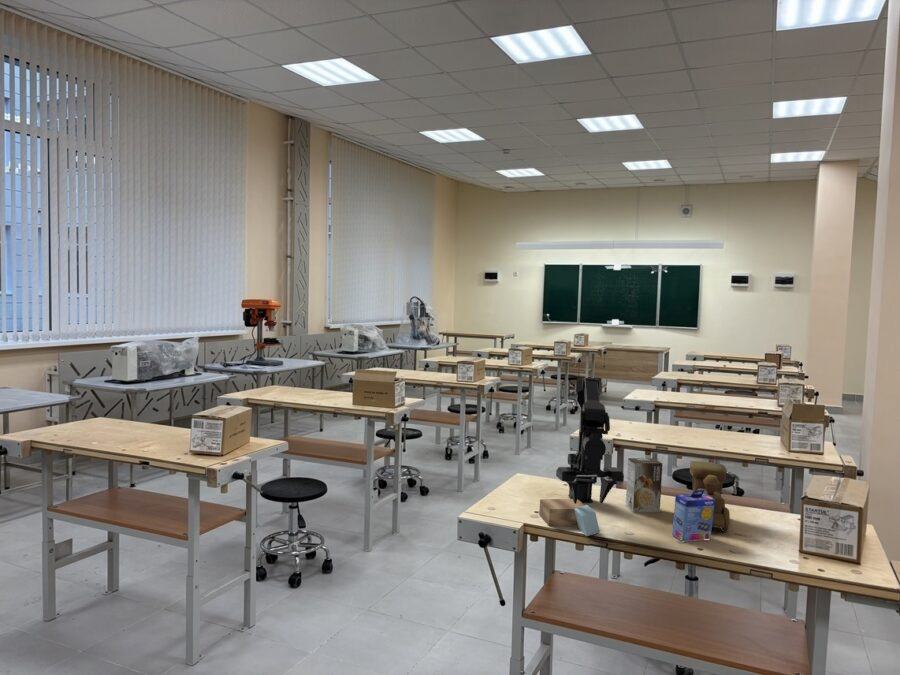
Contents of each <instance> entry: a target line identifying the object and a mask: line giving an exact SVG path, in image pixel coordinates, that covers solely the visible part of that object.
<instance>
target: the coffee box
mask: <svg viewBox="0 0 900 675" xmlns="http://www.w3.org/2000/svg"><path fill="white" fill-rule="evenodd" d="M663 465H664V464H663V463H662V462H661V461H659V460H657V459H655V458H641V457H639V458H638V457H637V458H635V457H631V458H629V457H628V461H627V477H626V479H627V480H626V492H625V493H626V494H625V496H626V497H625V507H626V508H627V507H628V508H627V509H629V511H631V512H632V513H660V512H661V495H662V480H663V479H662V477H663Z"/></svg>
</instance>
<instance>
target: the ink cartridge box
mask: <svg viewBox="0 0 900 675" xmlns="http://www.w3.org/2000/svg"><path fill="white" fill-rule="evenodd" d="M696 492H701V493H696ZM703 493H704V490H694V491H693V490H692V492H691V494H690V493H678V494H675V495H674V496H675V500H674V510H673V519H672V520H673V521H672V530H671V532H672V533H671V535H672V536H673V537H675V538H676V537H677V538H676V539H678V540H679V539H680V540H682V541H690V542H695V541H694V540H704V539H710V540H711V539H712V529H713V526H712V521H713V512H714V503H715V499H713V498H712V497H710V496H708V495H705V494H703ZM680 540H679V541H680ZM682 541H681V542H682Z"/></svg>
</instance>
